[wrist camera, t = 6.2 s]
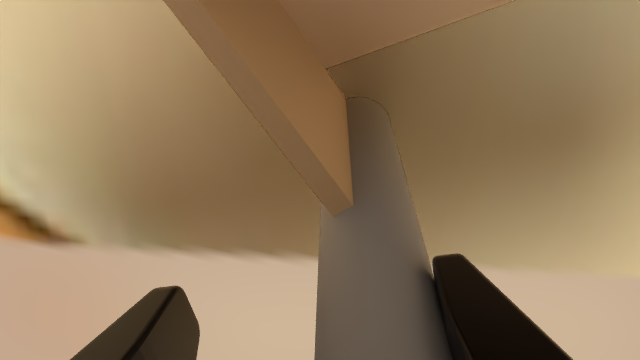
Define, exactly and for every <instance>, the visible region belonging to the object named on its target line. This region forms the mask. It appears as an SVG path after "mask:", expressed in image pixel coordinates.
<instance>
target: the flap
mask: <svg viewBox="0 0 640 360" xmlns="http://www.w3.org/2000/svg"><path fill="white" fill-rule="evenodd" d="M163 1H164V2H165V3H166V4H167V6H168V7H169V8H170V9H171V11H172V12H173V13H174V15H175V16H176V17H177V18H178V20H179V21H180V22H181V23H182V25H183V26H184V27H185V29H186V30H187V31H188V32H189V34H190V35H191V36H192V37H193V39H194V40H195V41H196V43H197V44H198V45H199V46H200V48H201V49H202V50H203V52H204V53H205V54H206V55H207V57H208V58H209V59H210V60H211V62H212V63H213V64H214V66H215V67H216V68H217V69H218V71H219V72H220V73H221V74H222V76H223V77H224V78H225V80H226V81H227V82H228V83H229V85H230V86H231V87H232V88H233V90H234V91H235V92H236V94H237V95H238V96H239V97H240V99H241V100H242V101H243V103H244V104H245V105H246V106H247V108H248V109H249V110H250V111H251V113H252V114H253V115H254V117H255V118H256V119H257V120H258V122H259V123H260V124H261V125H262V127H263V128H264V129H265V131H266V132H267V133H268V134H269V136H270V137H271V138H272V139H273V141H274V142H275V143H276V145H277V146H278V147H279V148H280V150H281V151H282V152H283V154H284V155H285V156H286V157H287V159H288V160H289V161H290V162H291V164H292V165H293V166H294V168H295V169H296V170H297V171H298V173H299V174H300V175H301V176H302V178H303V179H304V180H305V182H306V183H307V184H308V185H309V187H310V188H311V189H312V190H313V192H314V193H315V194H316V196H317V197H318V198H319V199H320V201H321V214H320V239H319V263H318V289H317V312H316V313H317V314H316V337H315V360H453V357H452V354H451V351H450V348H449V344H448V340H447V336H446V331H445V327H444V322H443V318H442V313H441V309H440V304H439V300H438V295H437V291H436V286H435V282H434V276H433V273H432V269H431V265H430V262H429V258H428V255H427V251H426V248H425V244H424V240H423V237H422V233H421V230H420V226H419V222H418V219H417V215H416V212H415V208H414V205H413V201H412V197H411V194H410V190H409V187H408V183H407V179H406V176H405V172H404V169H403V165H402V162H401V158H400V154H399V151H398V147H397V144H396V140H395V136H394V133H393V129H392V126H391V122H390V119H389V116H388V114H387V112H386V111H385V109H384V108H383V107H382V106H381V105H380V104H378V103H377V102H375V101H374V100H371V99H369V98H364V97H352V98H348V99H345V97H344V96H343V94H342V93H341V91H340V90H339V88H338V87H337V85H336V84H335V82H334V81H333V80H332V78H331V77H330V75H329V74H328V72H327V71H326V69H325V68H324V66H323V65H322V63H321V62H320V61H319V59H318V58H317V56H316V55H315V53H314V52H313V50H312V49H311V47H310V46H309V44H308V43H307V42H306V40H305V39H304V37H303V36H302V34H301V33H300V31H299V30H298V28H297V27H296V25H295V24H294V22H293V21H292V20H291V18H290V17H289V15H288V14H287V12H286V11H285V9H284V8H283V6H282V5H281V3H280V2H279V1H278V0H163Z"/></svg>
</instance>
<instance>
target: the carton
mask: <svg viewBox="0 0 640 360" xmlns="http://www.w3.org/2000/svg"><path fill="white" fill-rule="evenodd" d="M278 1H279V2H280V3H281V5H282V6H283V8H284V9H285V11H286V12H287V14H288V15H289V17H290V18H291V20H292V21H293V22H294V24H295V25H296V27H297V28H298V30H299V31H300V33H301V34H302V36H303V37H304V39H305V40H306V42H307V43H308V44H309V46H310V47H311V49H312V50H313V52H314V53H315V55H316V56H317V58H318V59H319V61H320V62H321V63H322V65H323V66H324V68H325V69H327V68H330V67H333V66H336V65H338V64H341V63H344V62H347V61H349V60H352V59H355V58H358V57H360V56H363V55H366V54H369V53H371V52H374V51H377V50H380V49H382V48H385V47H388V46H391V45H393V44H396V43H399V42H402V41H404V40H407V39H410V38H413V37H415V36H418V35H421V34H424V33H426V32H429V31H432V30H435V29H437V28H440V27H443V26H446V25H448V24H451V23H454V22H457V21H459V20H462V19H465V18H468V17H470V16H473V15H476V14H479V13H481V12H484V11H487V10H490V9H492V8H495V7H498V6H501V5H503V4H506V3H509V2H512V1H514V0H278Z"/></svg>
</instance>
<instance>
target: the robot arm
mask: <svg viewBox="0 0 640 360" xmlns="http://www.w3.org/2000/svg"><path fill="white" fill-rule="evenodd" d="M432 263H433V273H434V282H435V286H436V291H437V295H438V300H439V304H440V309H441V313H442V318H443V322H444V327H445V331H446V336H447V340H448V344H449V348H450V351H451V354H452V357H453V360H573V359H572V358H571V357H570V356H569V355H568V354H567V353H566V352H565V351H563V350H562V349H561V348H560V347H559V346H558V345H557V344H556V343H555V342H554V341H553V340H552V339H551V338H550V337H549V336H548V335H547V334H546V333H545V332H543V331H542V330H541V329H540V328H539V327H538V326H537V325H536V324H535V323H534V322H533V321H532V320H531V319H530V318H529V317H528V316H526V315H525V314H524V313H523V312H522V311H521V310H520V309H519V308H518V307H517V306H516V305H515V304H514V303H513V302H512V301H511V300H510V299H509V298H507V296H505V295H504V294H503V293H502V292H501V291H500V290H499V289H498V288H497V287H496V286H495V285H494V284H493V283H492V282H491V281H490V280H489V279H488V278H486V277H485V276H484V275H483V274H482V273H481V272H480V271H479V270H478V269H477V268H476V267H475V266H474V265H473V264H472V263H471V262H470V261H469V260H467V259H466V258H465V257H464V256H463V255H461V254H449V255H440V256H435V257H434V258H433V261H432ZM199 336H200V330H199V324H198V321H197V319H196V316H195V314H194V312H193V310H192V307H191V305H190V303H189V301H188V298H187V296H186V294H185V292H184V290H183V289H182V288H181V287H179V286H169V287H160V288H155V289H153V290H152V291H150V292H149V293H148V294H147V295H146V296H144V297H143V298H142V299H141V300H140V301H139V302H137V303H136V304H135V305H134V306H133V307H132V308H130V309H129V310H128V311H127V312H126V313H124V314H123V315H122V316H121V317H120V318H119V319H117V320H116V321H115V322H114V323H113V324H111V325H110V326H109V327H108V328H107V329H106V330H105V331H103V332H102V333H101V334H100V335H98V336H97V337H96V338H95V339H94V340H93V341H92V342H90V343H89V344H88V345H87V346H86V347H84V348H83V349H82V350H81V351H80V352H78V354H76V355H75V356H74V357H73V358H71V359H70V360H196V357H197V350H198V344H199Z"/></svg>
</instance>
